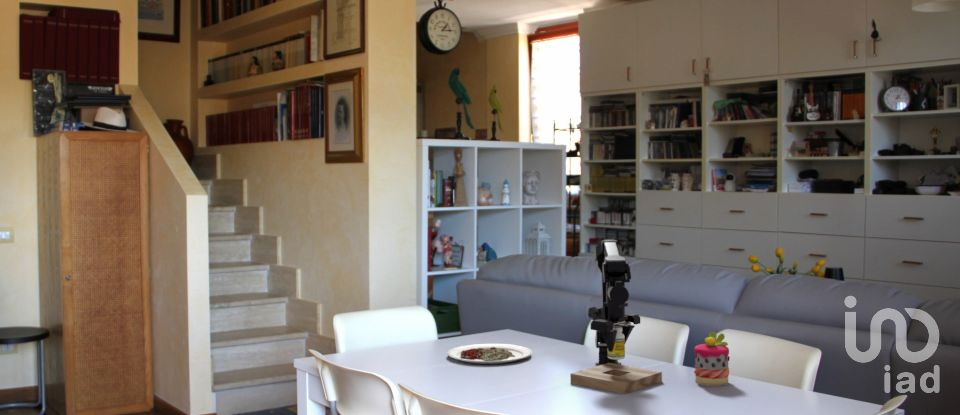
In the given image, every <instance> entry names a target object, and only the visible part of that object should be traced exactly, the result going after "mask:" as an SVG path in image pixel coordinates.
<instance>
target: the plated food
mask: <svg viewBox="0 0 960 415" xmlns="http://www.w3.org/2000/svg"><path fill="white" fill-rule="evenodd" d="M532 354H533V351H532V350H531V349H530V348H528V347H525V346H522V345H516V344H509V343H479V344H478V343H476V344H466V345H460V346H457V347H454V348H451V349H449V350H448V351H447V356H448V357H449V358H452V359H455V360H457V361H462V362H466V363H470V364H479V365H480V364H484V365H486V364H487V365H488V364H489V365H491V364H504V363H511V362H516V361H519V360H522V359H525V358H528V357H530V356H532Z"/></svg>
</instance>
